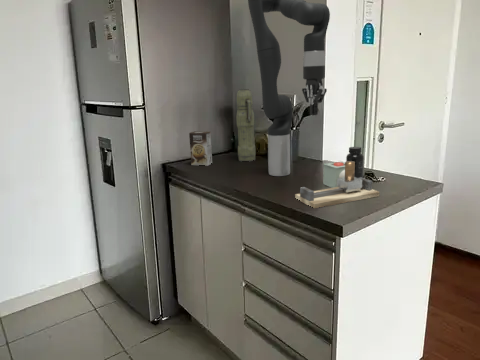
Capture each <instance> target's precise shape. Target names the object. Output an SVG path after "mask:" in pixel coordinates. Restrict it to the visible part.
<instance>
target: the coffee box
mask: <svg viewBox="0 0 480 360" xmlns="http://www.w3.org/2000/svg"><path fill="white" fill-rule="evenodd" d="M188 135H189V138H188V139H189V150H190V164H191V166H199V165H205V167H208V166H210V165H211V163H212V164H213V155H212V154H213V152H212V136H211V135H212V133H211V131H198V130H197V131H195V130H193V131H191V132H189V133H188Z"/></svg>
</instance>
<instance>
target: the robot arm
mask: <svg viewBox="0 0 480 360" xmlns="http://www.w3.org/2000/svg"><path fill="white" fill-rule="evenodd" d="M247 3H248V10H249V15H250V18H251V22H252V27H253V31H254V37H255V38H254V39H255V44H256V46H255V47H256V52H257V53H256V54H257V60H258V64H259V65H258V66H259V73H260V80H261V81H260V83H261V95H262V96H261V98H262V108H263V109H262V110H263V113H264V114H265V116H266V117H267V118H268V119H270V120H273V121H272V123H271V125H270V126H269V127H268V128H267V162H268V167H267V168H268V175H270V176H271V177H272V176H274V177H285V176H289V175H290V174H291V141H290V140H291V139H290V138H291V136H290V135H291V133H290V132H291V128H292V121H293V105H292V100H291V98H290V97H289V96H287V95H285V94H280V95H279V92H278V85H277V83H278V77H279V73H280V69H281V65H282V54H281V53H282V52H281V47H280V43H279V41H278V39H277V37H276V36H275V35H274V33H273V32H272V31H271V29H270V27H269V25H268V24H267V22H266V19H265V17H266V16H265V14H264V13H271V12H279V13H281V14H282V16H284V17H285V18H287V19H290V20H294V21H296V22H297V23H298V24H300V25H303V26H311V27H312V26H313V29H312V32H311V33H310V32H309V33H306V34H305V35H304V37H303V58H302V73H303V74H302V76H303V80H305V86H304V88H302V89H301V91H302V94H303V96H304V97H303V98H304V99H305V102H306V103H308V105H309V114H310V116H317V115H318V113H319V111H318V110H319V107H318V106H319V104H320V103H322V102H323V99H324V98H325V96H326V94H327V90H328V89H327V88H324V87H323V84H324V83H323V79H325V78H326V55H325V54H326V53H325V47H326V46H325V45H326V44H325V42H326V41H325V39H326V36H327V35H326V34H327V31H328V27H329V23H330V19H331V12H330V9H329V7H328V5H327V4H325V3H319V2H317V3H316V2H307V1H306V0H247Z"/></svg>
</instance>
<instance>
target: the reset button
mask: <svg viewBox="0 0 480 360" xmlns="http://www.w3.org/2000/svg"><path fill="white" fill-rule="evenodd" d="M342 162H343V161H341V162H340V161H335V163H334V166H337V167H338V166H343V165H344V163H342Z"/></svg>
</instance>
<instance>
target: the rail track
mask: <svg viewBox="0 0 480 360" xmlns="http://www.w3.org/2000/svg"><path fill="white" fill-rule="evenodd" d="M358 179H361V180H362V188H361V190H358V191H352V192H344V189H343V188H339V189H338V187H334V188H331V187H329V188H322V189H318V190H313V189H310V188H308V187H305V186H302V187H300V188H299V189H300V190H299V193H295V194H294V196H295V197H294V198H296V199H295V200H297V199H298V200H297V201H299V200H300V201H299V202H301V203H303V204H305V205H307V206H308V205H309V207H310V206H311V207H310V208H312V207H313V209H318V208H319V207H320V208H324V206H325V207H329V206H335V205H340V204H345V203H350V202H355V201H360V200H366V199H371V198H376V197H380V191H378V190H376V189H373V180H370V179H368V178H365V177H360V178H358Z"/></svg>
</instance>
